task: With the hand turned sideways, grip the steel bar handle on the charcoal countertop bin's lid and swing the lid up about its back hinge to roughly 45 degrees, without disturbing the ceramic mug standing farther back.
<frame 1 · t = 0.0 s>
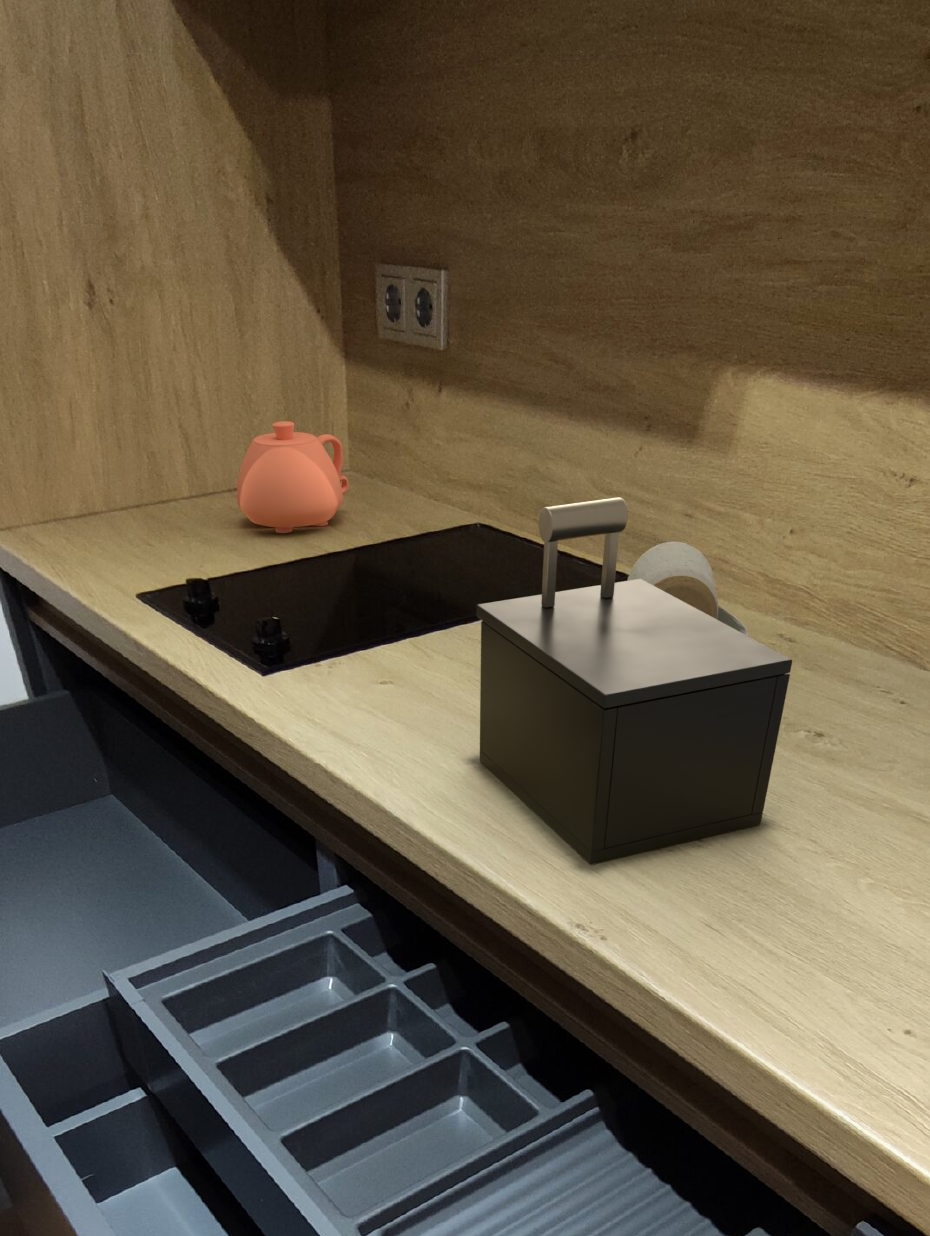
bin lid: (629, 586, 69), point 13 cm above the table, hinge at 0.0°
ceramic mug: (681, 648, 98), on the table
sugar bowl: (299, 523, 131), on the table
bin: (612, 791, 77), on the table
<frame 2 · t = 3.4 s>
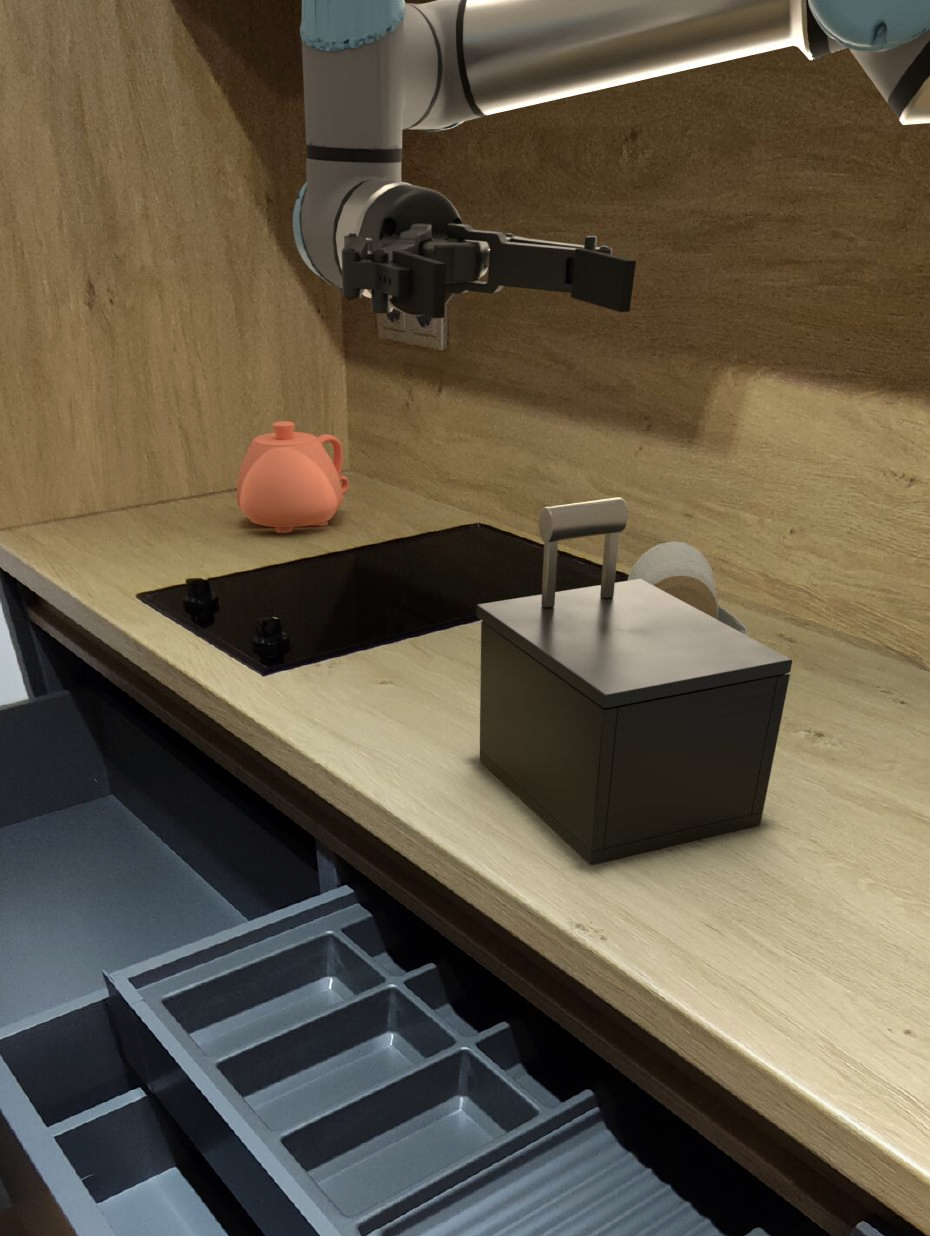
hand: (537, 288, 70), 27 cm above the table, tool horizontal, fingers open, 13 cm apart
nothing on the table moved.
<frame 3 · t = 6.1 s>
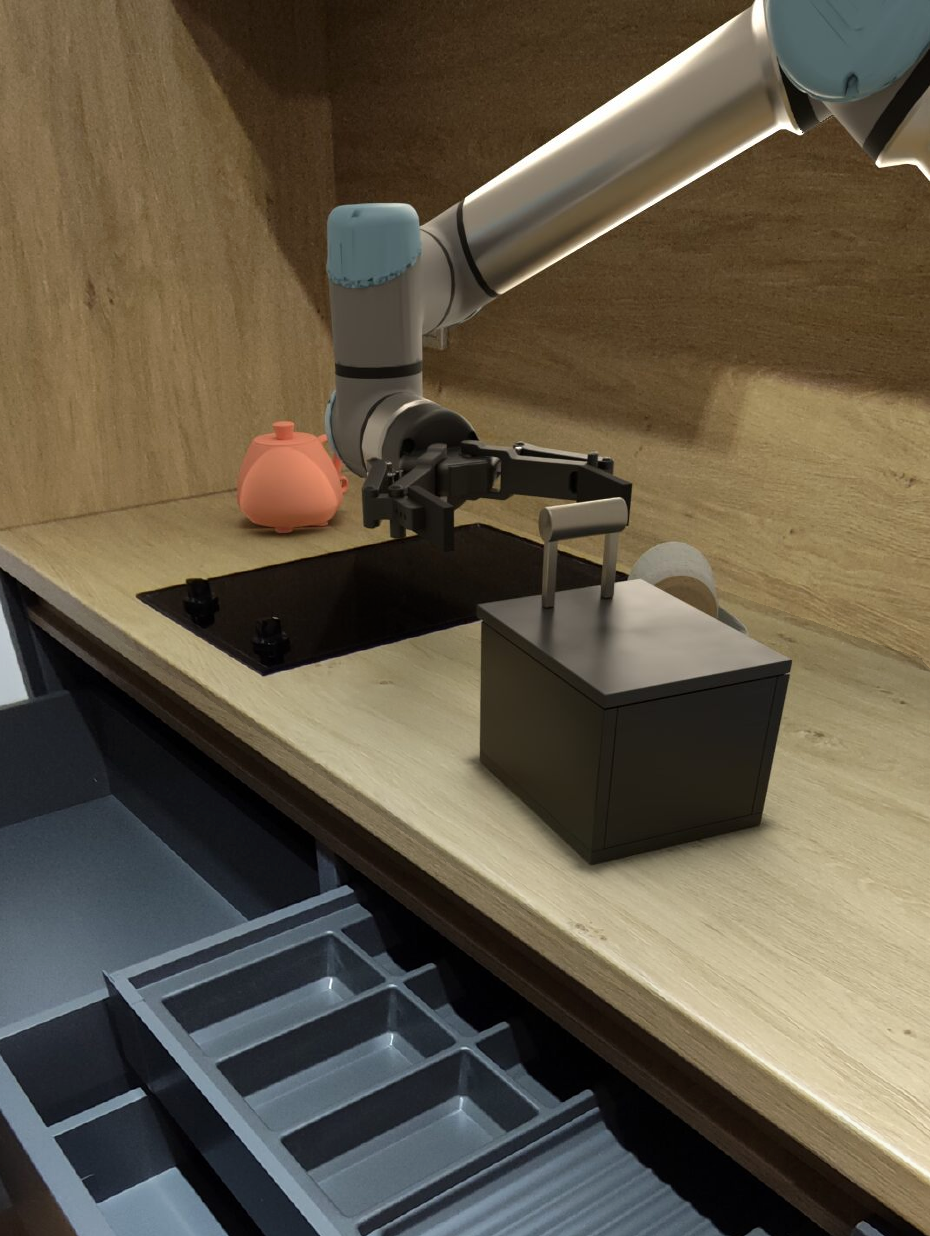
hand: (540, 517, 76), 15 cm above the table, tool horizontal, fingers open, 13 cm apart
nothing on the table moved.
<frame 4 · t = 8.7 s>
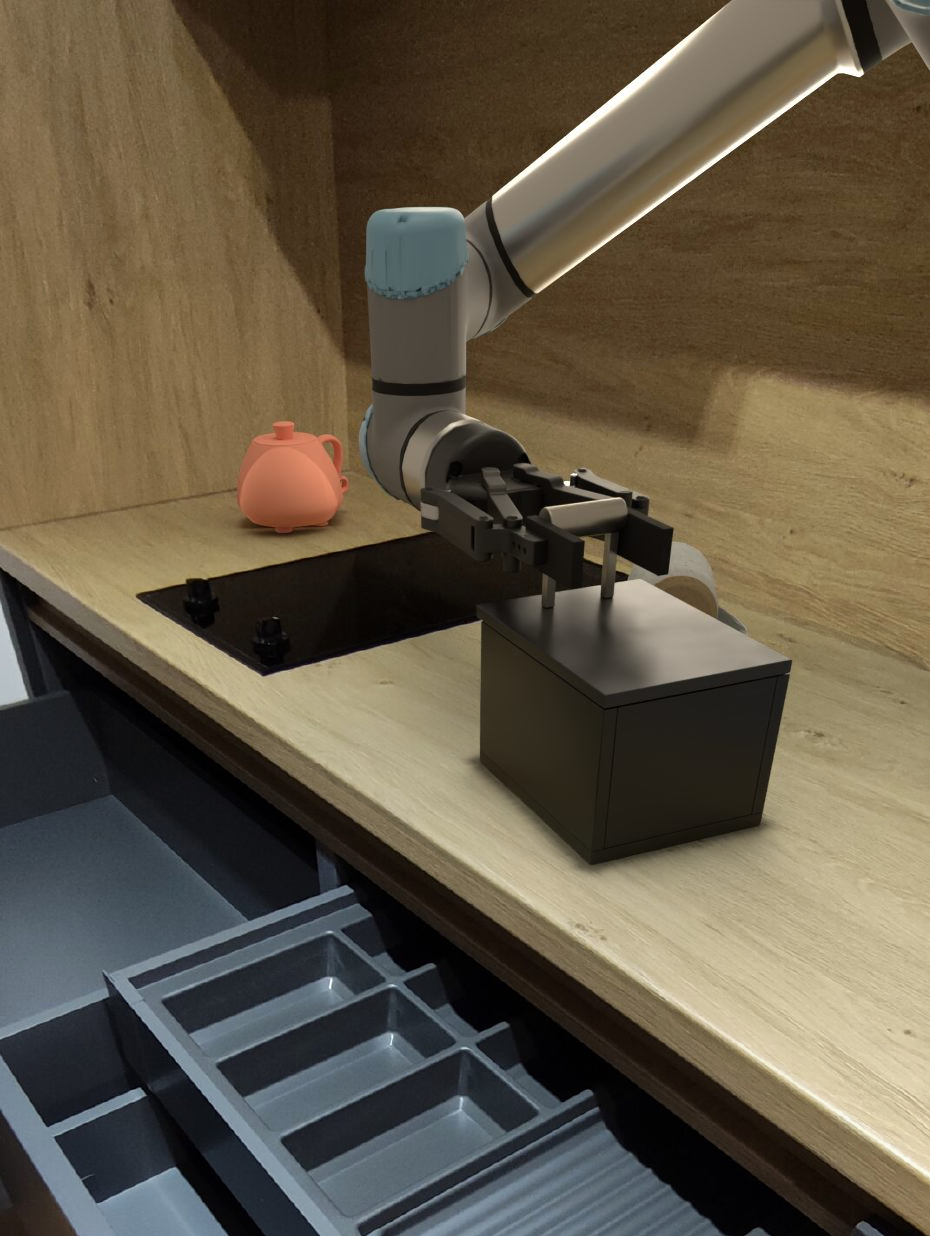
hand: (622, 558, 68), 15 cm above the table, tool horizontal, fingers closed on bin lid, 5 cm apart
bin lid: (629, 586, 69), point 13 cm above the table, hinge at 0.0°, touching gripper
everything else where it was.
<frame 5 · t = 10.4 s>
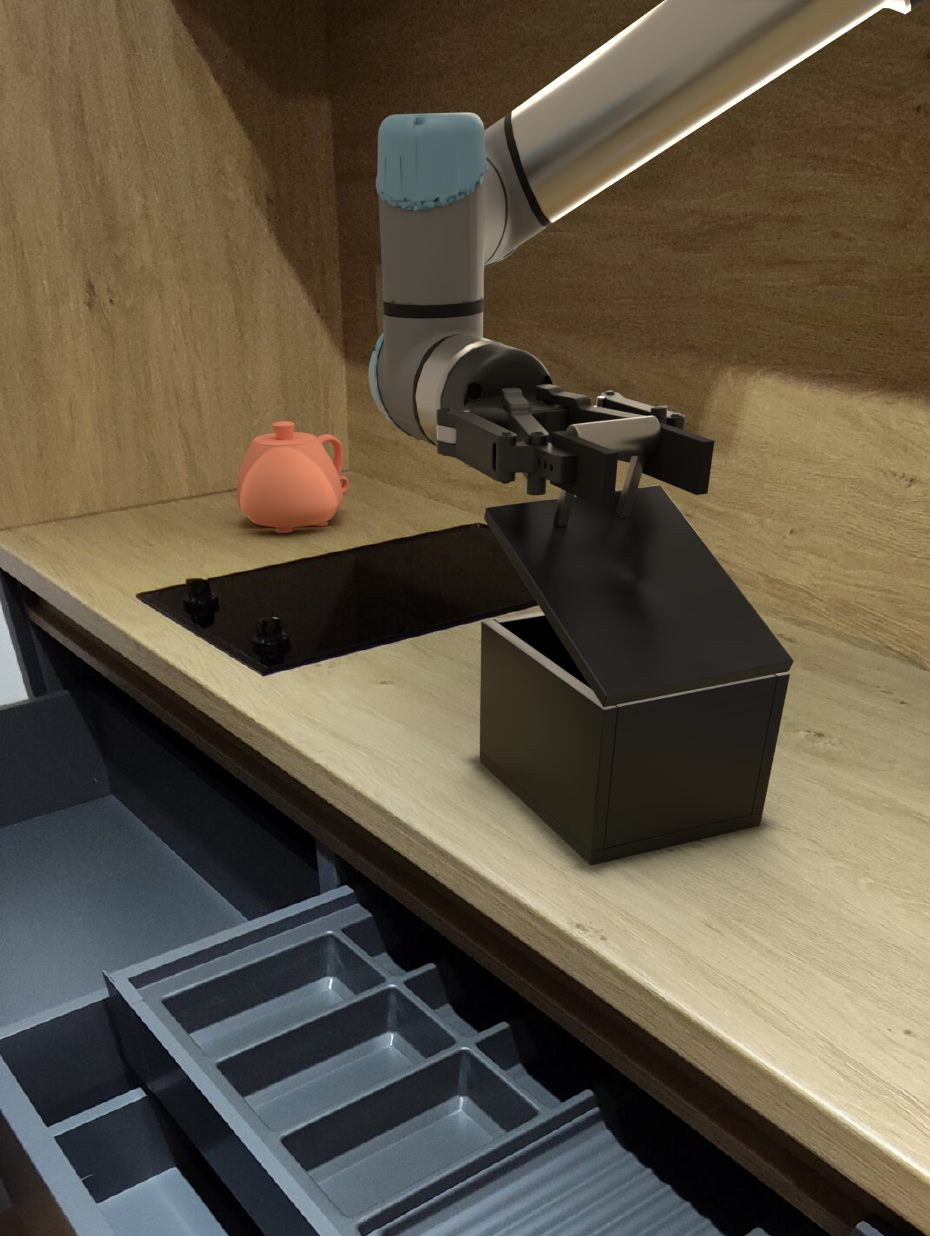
hand: (658, 473, 63), 20 cm above the table, tool horizontal, fingers closed on bin lid, 5 cm apart
bin lid: (648, 542, 65), point 16 cm above the table, hinge at 20.7°, touching gripper
everything else where it was.
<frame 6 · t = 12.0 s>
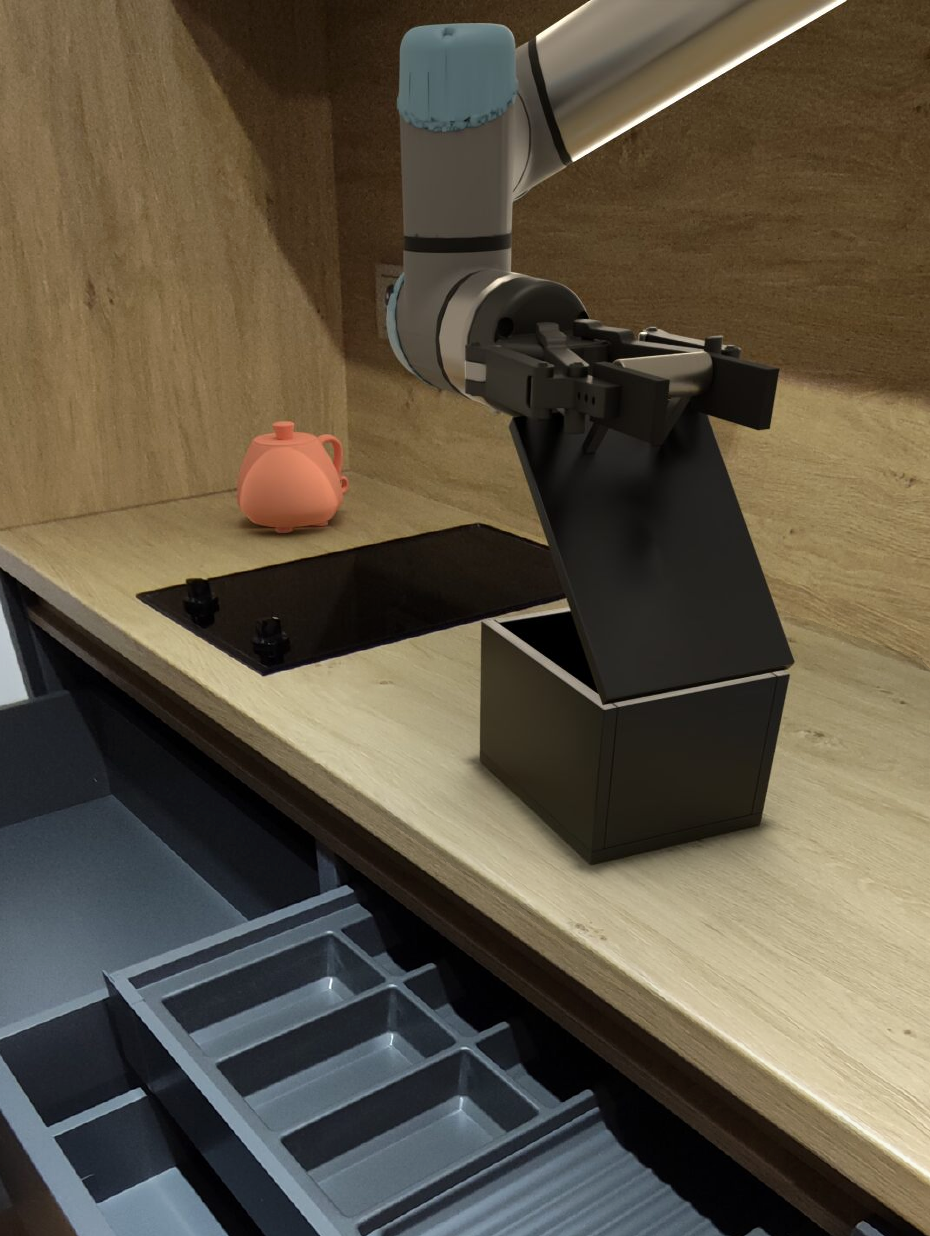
hand: (714, 405, 57), 24 cm above the table, tool horizontal, fingers open, 6 cm apart
bin lid: (676, 511, 62), point 18 cm above the table, hinge at 41.7°
everything else where it was.
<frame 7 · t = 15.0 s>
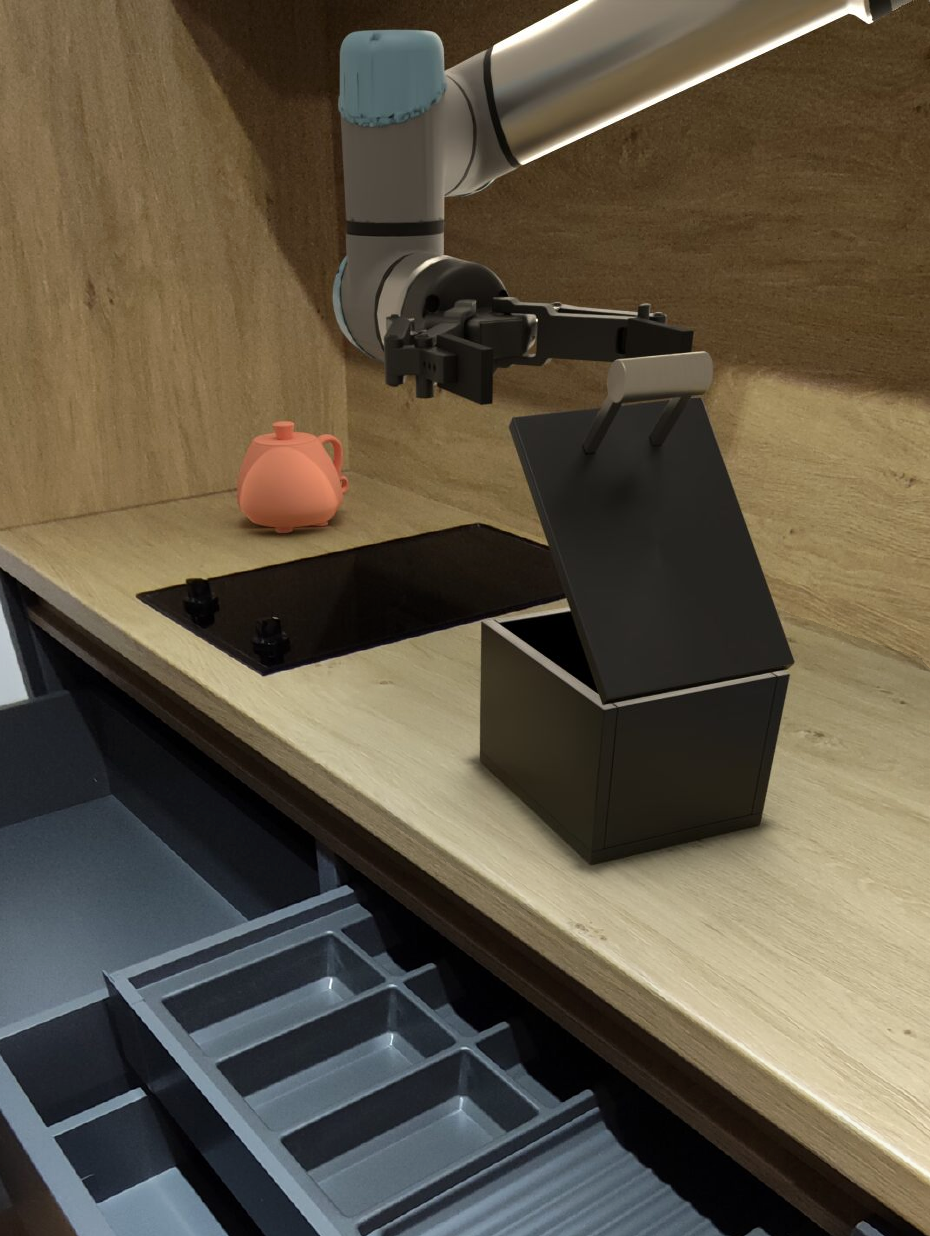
hand: (589, 366, 66), 24 cm above the table, tool horizontal, fingers open, 13 cm apart
nothing on the table moved.
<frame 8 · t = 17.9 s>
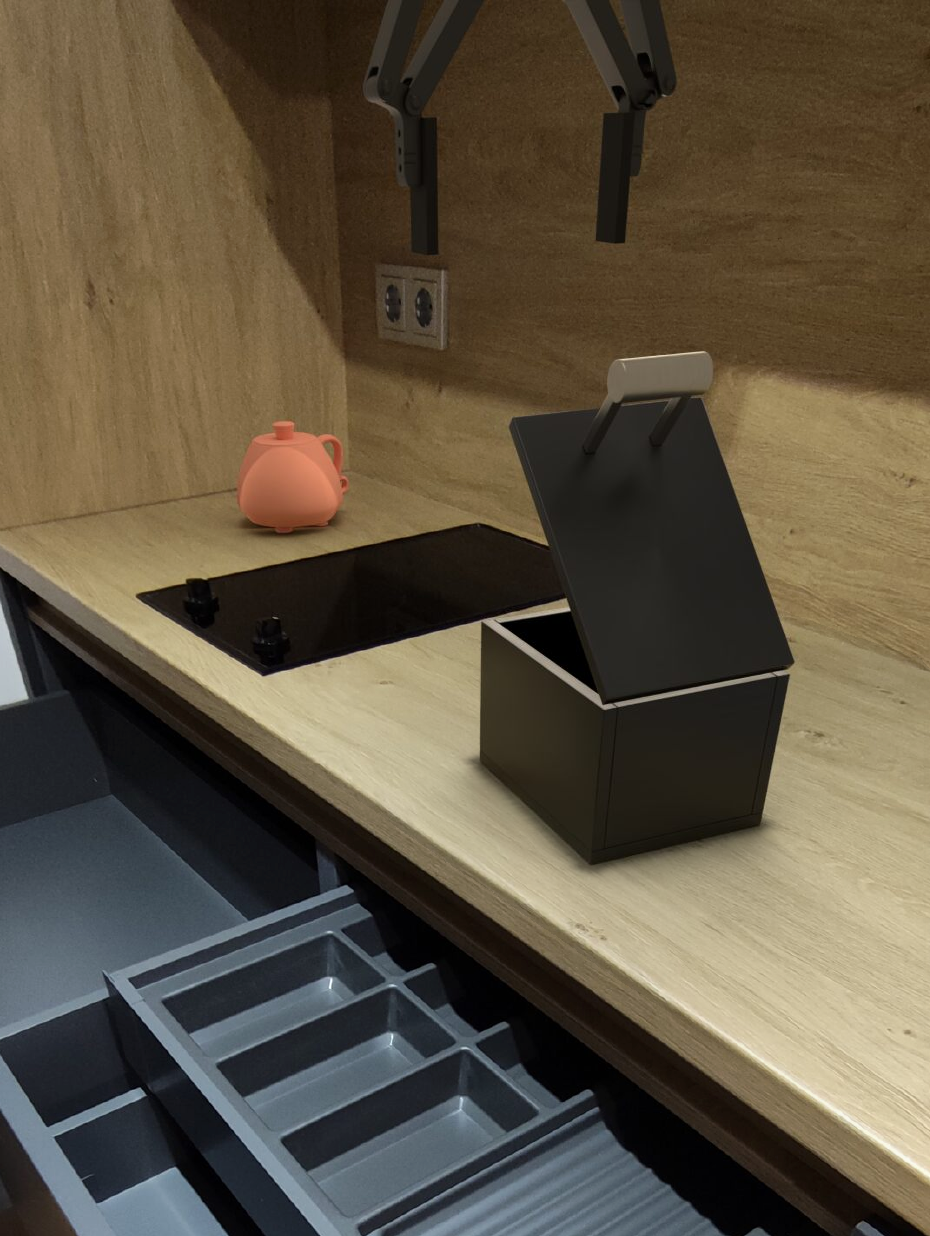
hand: (519, 248, 73), 29 cm above the table, tool pointing down, fingers open, 13 cm apart
nothing on the table moved.
at the end: bin lid at +42° (first picture: +0°); ceramic mug moved 0.2 cm from its start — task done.
